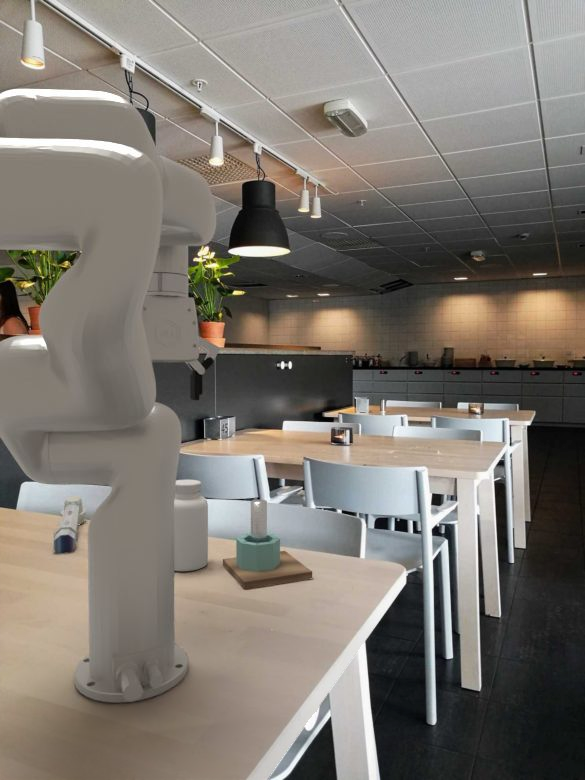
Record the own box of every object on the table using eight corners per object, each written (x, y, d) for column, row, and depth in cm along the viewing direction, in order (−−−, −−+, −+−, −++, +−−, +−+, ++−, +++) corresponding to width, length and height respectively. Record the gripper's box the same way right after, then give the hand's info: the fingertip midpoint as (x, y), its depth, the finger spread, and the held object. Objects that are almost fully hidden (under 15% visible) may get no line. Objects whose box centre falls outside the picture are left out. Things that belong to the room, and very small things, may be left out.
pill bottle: (216, 561, 106) (216, 479, 105) (191, 575, 98) (190, 488, 98) (180, 555, 109) (180, 476, 108) (153, 568, 102) (153, 484, 101)
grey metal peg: (269, 565, 100) (269, 502, 100) (253, 567, 99) (253, 503, 98) (263, 560, 103) (263, 499, 102) (248, 562, 101) (248, 500, 101)
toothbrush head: (48, 535, 109) (61, 490, 133) (50, 568, 110) (62, 517, 134) (78, 533, 110) (86, 489, 134) (79, 565, 112) (86, 516, 135)
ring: (284, 567, 99) (284, 541, 99) (245, 573, 96) (245, 546, 96) (270, 555, 105) (270, 531, 105) (233, 560, 103) (233, 535, 102)
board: (312, 578, 97) (312, 571, 97) (244, 589, 92) (244, 582, 92) (284, 557, 108) (284, 550, 108) (222, 565, 103) (222, 559, 103)
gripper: (106, 281, 82) (107, 403, 82) (225, 288, 88) (225, 400, 89) (101, 288, 88) (102, 400, 89) (211, 294, 95) (212, 398, 96)
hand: (164, 400), depth 89 cm, fingers open, 9 cm apart
